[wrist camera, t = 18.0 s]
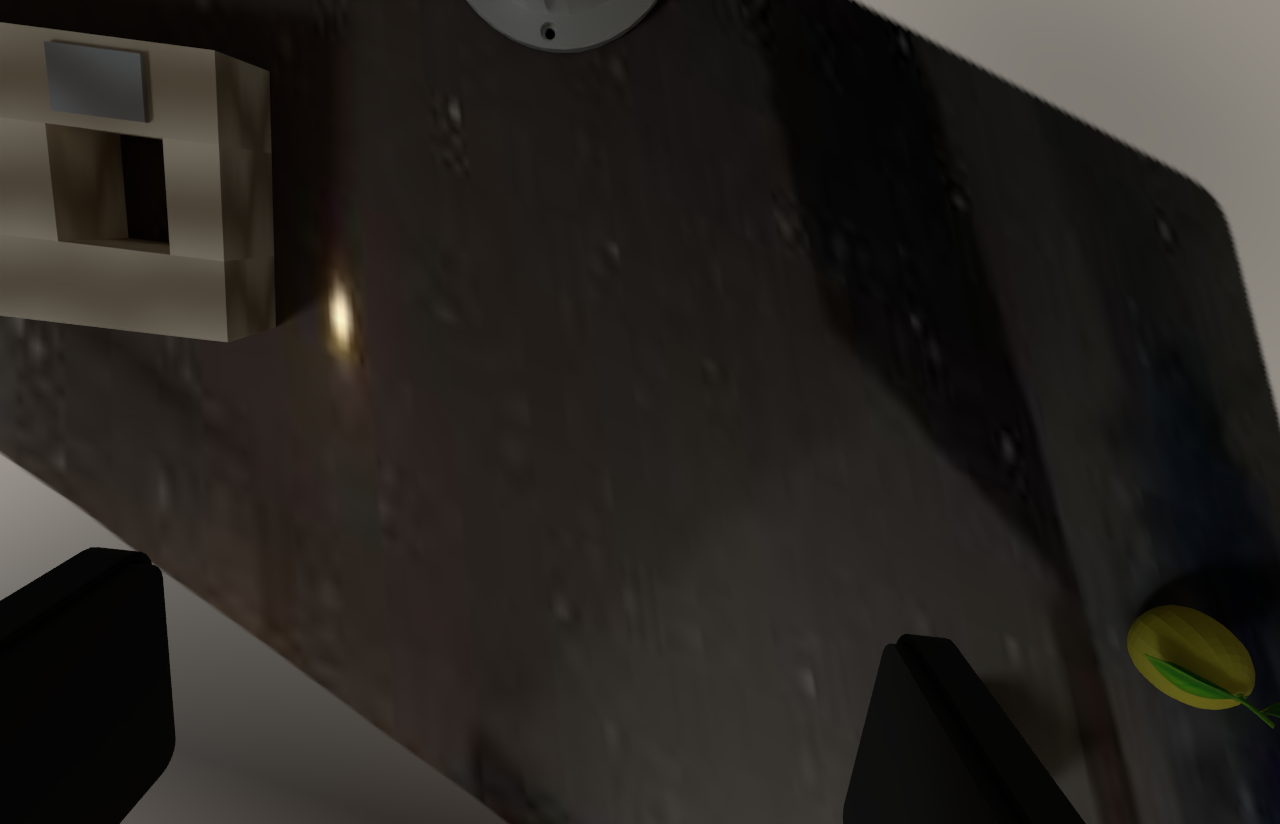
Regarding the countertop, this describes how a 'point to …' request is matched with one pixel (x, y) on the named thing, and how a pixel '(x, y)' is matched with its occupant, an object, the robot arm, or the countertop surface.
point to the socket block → (95, 196)
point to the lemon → (1193, 659)
